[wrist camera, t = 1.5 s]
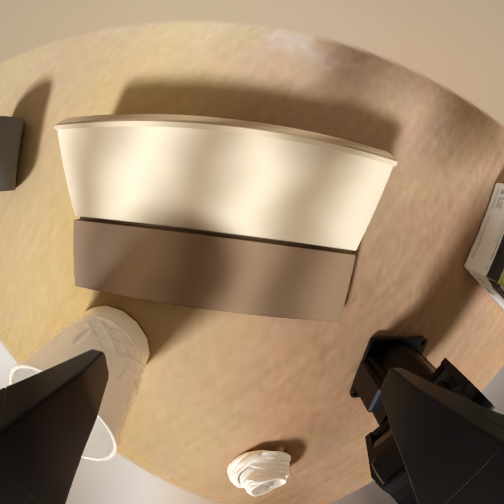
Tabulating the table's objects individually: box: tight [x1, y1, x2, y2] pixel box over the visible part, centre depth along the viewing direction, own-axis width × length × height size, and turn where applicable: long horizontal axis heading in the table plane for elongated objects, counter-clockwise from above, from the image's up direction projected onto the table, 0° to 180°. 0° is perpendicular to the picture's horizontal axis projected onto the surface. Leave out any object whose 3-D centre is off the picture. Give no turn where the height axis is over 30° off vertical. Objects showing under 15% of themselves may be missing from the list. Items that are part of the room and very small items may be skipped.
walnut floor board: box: [74, 216, 356, 322], centre depth 18 cm, size 20×5×1 cm, turn 82°
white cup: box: [9, 305, 150, 461], centre depth 15 cm, size 8×8×10 cm
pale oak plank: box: [55, 114, 397, 251], centre depth 15 cm, size 20×7×1 cm, turn 82°
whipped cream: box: [227, 450, 291, 496], centre depth 23 cm, size 8×7×5 cm
